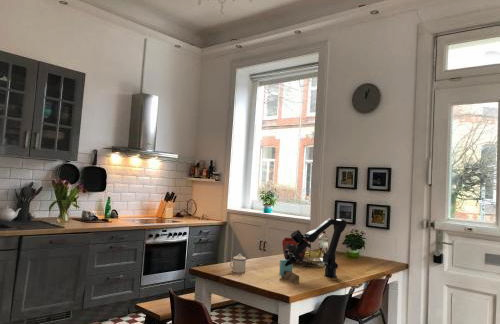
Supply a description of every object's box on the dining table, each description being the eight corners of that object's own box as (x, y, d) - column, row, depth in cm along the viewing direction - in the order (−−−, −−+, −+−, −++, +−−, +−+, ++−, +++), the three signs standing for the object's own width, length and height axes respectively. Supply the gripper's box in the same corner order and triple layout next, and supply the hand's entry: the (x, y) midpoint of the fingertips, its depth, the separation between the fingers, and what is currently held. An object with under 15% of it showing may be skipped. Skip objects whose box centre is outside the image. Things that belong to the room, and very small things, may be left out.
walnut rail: (281, 276, 263) (281, 268, 263) (284, 276, 264) (284, 268, 264) (295, 284, 245) (295, 276, 245) (298, 284, 245) (299, 276, 246)
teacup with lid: (240, 269, 277) (241, 252, 277) (248, 272, 270) (249, 254, 270) (225, 271, 270) (226, 253, 270) (233, 273, 262) (234, 256, 263)
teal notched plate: (290, 274, 263) (291, 259, 263) (292, 275, 260) (292, 260, 261) (279, 275, 260) (280, 259, 260) (281, 276, 257) (281, 260, 258)
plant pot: (305, 264, 306) (306, 242, 307) (280, 262, 310) (282, 240, 311) (307, 260, 325) (308, 239, 325) (283, 258, 329) (285, 237, 329)
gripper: (286, 237, 271) (270, 253, 267) (299, 241, 254) (283, 259, 249) (296, 248, 274) (281, 265, 269) (310, 253, 256) (293, 271, 252)
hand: (284, 265), depth 260 cm, fingers closed on teal notched plate, 2 cm apart
